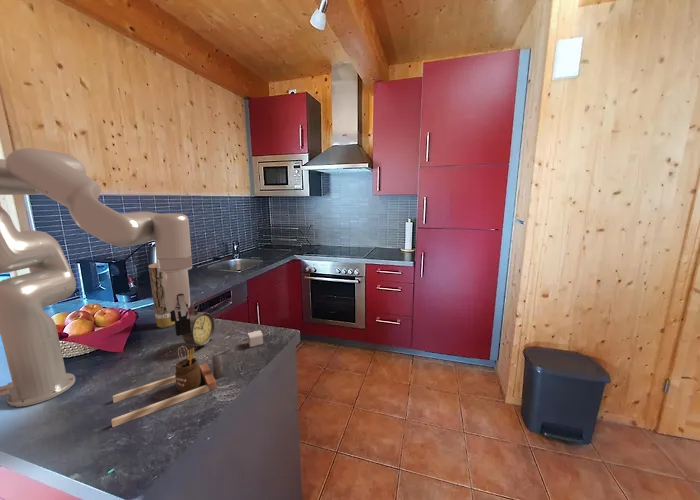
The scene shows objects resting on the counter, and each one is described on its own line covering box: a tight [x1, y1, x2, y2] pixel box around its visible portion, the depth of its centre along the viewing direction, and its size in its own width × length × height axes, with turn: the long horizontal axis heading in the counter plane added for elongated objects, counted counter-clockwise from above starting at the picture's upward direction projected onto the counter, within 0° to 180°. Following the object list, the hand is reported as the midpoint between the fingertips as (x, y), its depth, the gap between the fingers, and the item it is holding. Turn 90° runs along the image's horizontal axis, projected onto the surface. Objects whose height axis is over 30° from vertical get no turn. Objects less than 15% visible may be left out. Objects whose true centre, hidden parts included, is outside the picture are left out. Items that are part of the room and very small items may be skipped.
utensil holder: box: [175, 345, 202, 393], centre depth 78 cm, size 6×6×12 cm
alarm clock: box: [181, 300, 215, 354], centre depth 99 cm, size 11×5×16 cm, turn 168°
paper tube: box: [148, 262, 175, 329], centre depth 115 cm, size 7×7×25 cm
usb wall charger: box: [239, 329, 264, 348], centre depth 101 cm, size 4×7×4 cm, turn 121°
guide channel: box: [110, 354, 224, 428], centre depth 77 cm, size 25×11×6 cm, turn 127°
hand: (180, 326), depth 76 cm, fingers open, 9 cm apart
